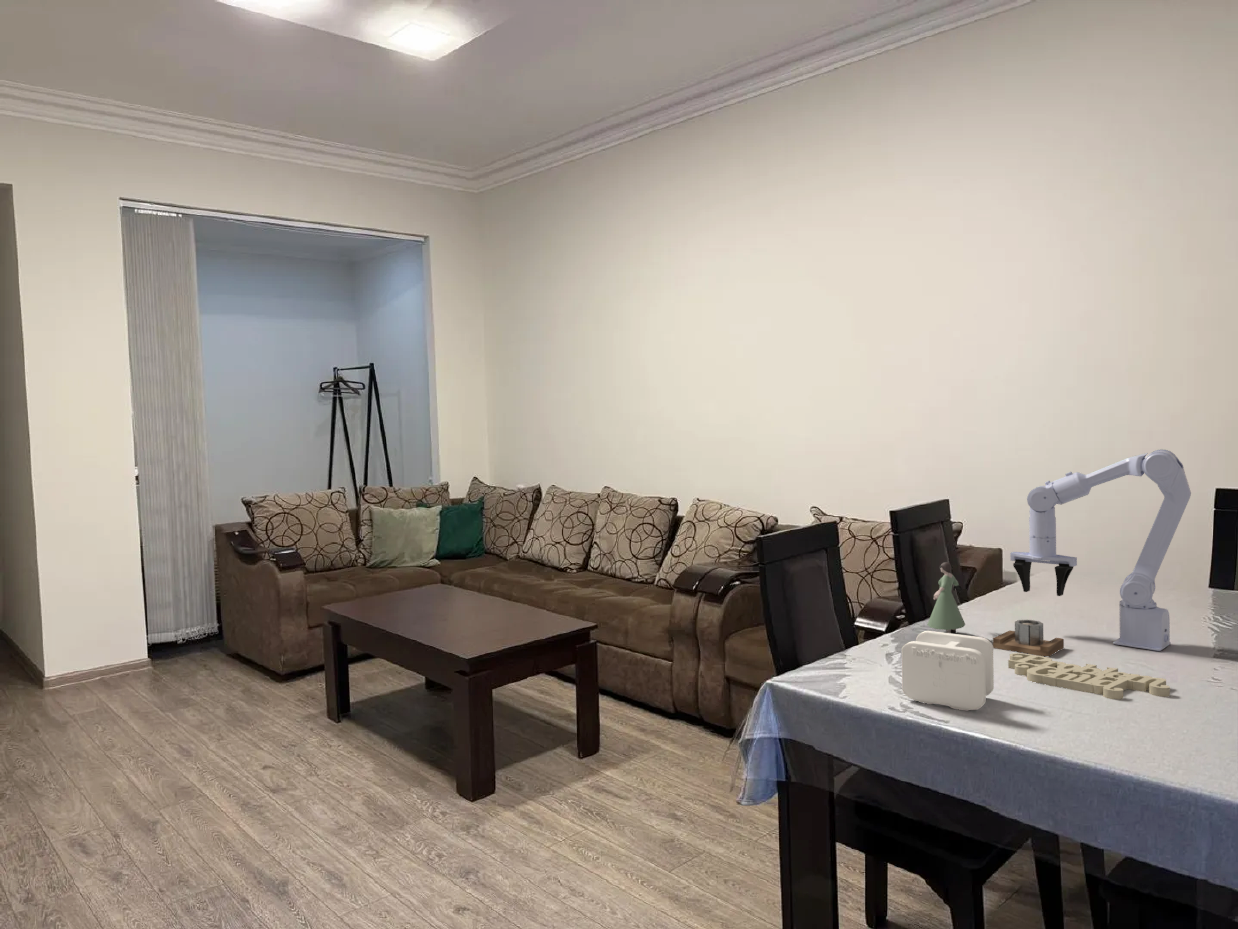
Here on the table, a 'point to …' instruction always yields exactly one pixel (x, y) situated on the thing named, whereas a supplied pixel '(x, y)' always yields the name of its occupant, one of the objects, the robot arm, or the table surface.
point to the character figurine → (946, 604)
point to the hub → (1029, 632)
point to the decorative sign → (1084, 677)
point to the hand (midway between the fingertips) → (1043, 593)
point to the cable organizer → (948, 670)
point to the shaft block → (1045, 649)
